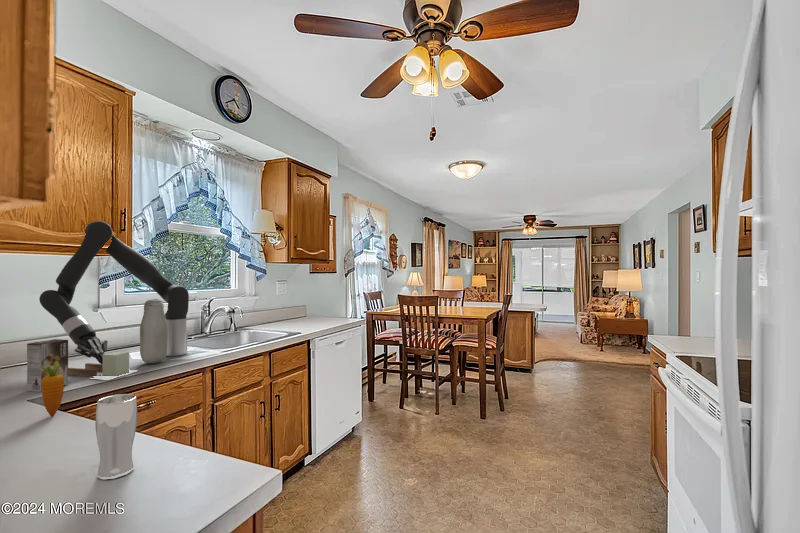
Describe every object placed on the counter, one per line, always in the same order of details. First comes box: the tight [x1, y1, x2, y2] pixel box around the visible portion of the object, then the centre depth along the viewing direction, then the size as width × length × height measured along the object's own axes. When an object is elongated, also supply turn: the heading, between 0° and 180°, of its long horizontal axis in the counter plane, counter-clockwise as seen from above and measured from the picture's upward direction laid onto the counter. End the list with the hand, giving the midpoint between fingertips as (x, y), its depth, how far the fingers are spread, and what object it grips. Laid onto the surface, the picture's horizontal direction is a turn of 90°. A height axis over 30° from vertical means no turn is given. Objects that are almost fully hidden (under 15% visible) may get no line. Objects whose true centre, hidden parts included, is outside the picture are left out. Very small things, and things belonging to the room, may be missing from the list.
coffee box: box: [26, 338, 69, 393], centre depth 140 cm, size 9×6×16 cm
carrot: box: [41, 361, 65, 417], centre depth 113 cm, size 5×5×15 cm
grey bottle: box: [139, 298, 168, 364], centre depth 178 cm, size 10×10×28 cm
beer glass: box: [94, 393, 138, 477], centre depth 82 cm, size 7×7×15 cm
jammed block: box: [101, 351, 130, 376], centre depth 158 cm, size 6×6×8 cm
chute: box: [68, 362, 103, 377], centre depth 160 cm, size 9×13×2 cm
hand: (104, 362), depth 159 cm, fingers closed
